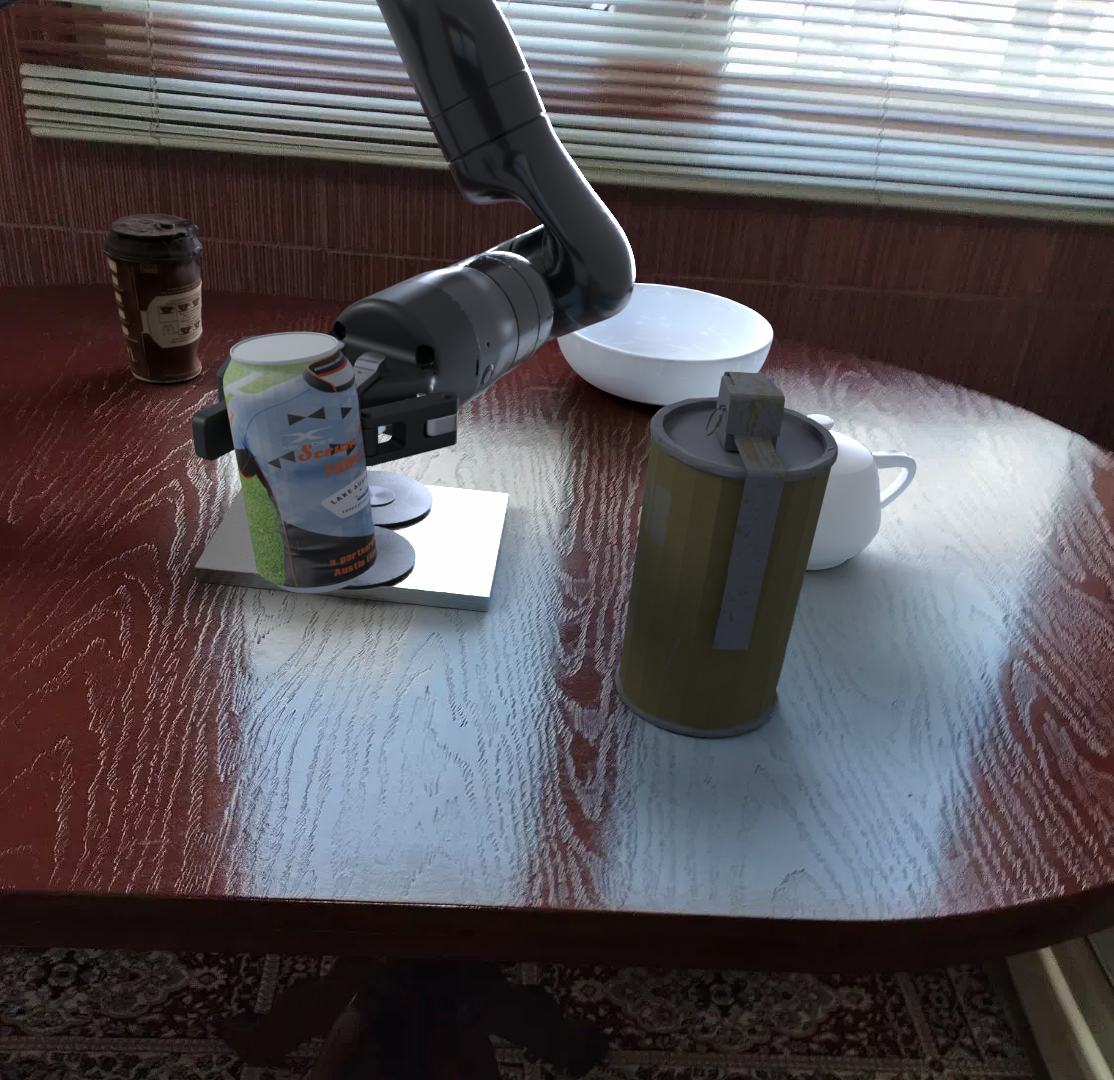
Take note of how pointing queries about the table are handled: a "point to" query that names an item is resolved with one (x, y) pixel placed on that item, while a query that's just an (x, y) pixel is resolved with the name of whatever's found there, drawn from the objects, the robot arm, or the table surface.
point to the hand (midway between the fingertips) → (232, 450)
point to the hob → (394, 546)
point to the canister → (721, 557)
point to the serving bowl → (669, 345)
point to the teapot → (854, 498)
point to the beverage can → (301, 460)
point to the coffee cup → (158, 293)
